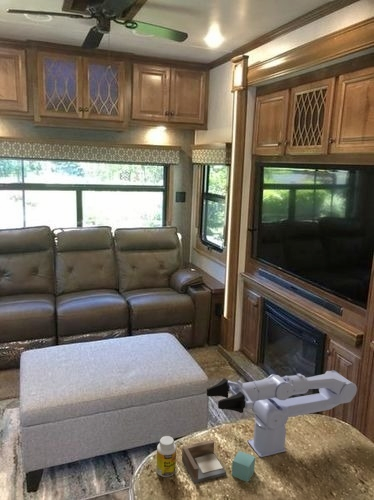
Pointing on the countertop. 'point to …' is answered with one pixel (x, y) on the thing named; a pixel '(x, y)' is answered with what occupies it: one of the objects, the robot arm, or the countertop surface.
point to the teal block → (243, 466)
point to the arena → (202, 461)
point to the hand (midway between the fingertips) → (212, 398)
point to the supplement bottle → (166, 457)
